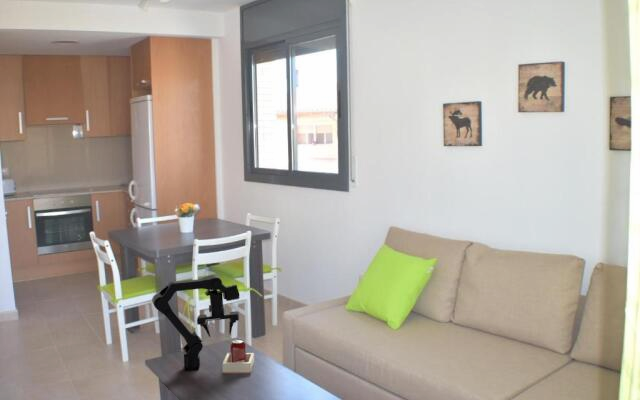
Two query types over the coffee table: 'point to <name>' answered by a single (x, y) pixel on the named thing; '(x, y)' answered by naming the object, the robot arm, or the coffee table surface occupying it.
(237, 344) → the soda can
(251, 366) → the open box
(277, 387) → the coffee table surface
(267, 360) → the coffee table surface
